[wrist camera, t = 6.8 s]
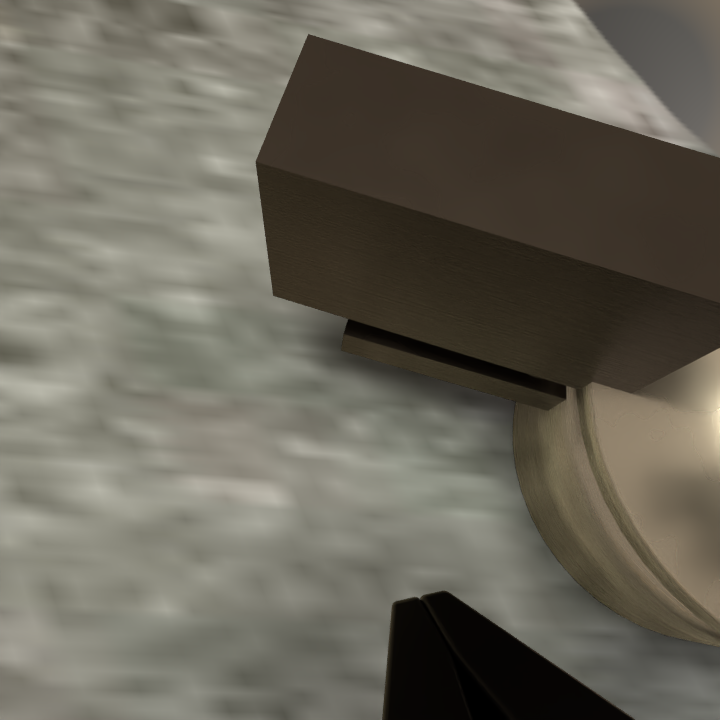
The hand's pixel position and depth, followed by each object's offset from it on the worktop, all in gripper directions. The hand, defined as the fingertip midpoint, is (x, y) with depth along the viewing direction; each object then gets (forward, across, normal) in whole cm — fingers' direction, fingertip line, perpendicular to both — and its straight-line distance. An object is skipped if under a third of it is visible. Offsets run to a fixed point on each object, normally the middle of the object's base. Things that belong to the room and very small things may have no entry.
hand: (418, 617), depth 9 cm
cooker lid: (+7, +9, -1) cm, 12 cm away
